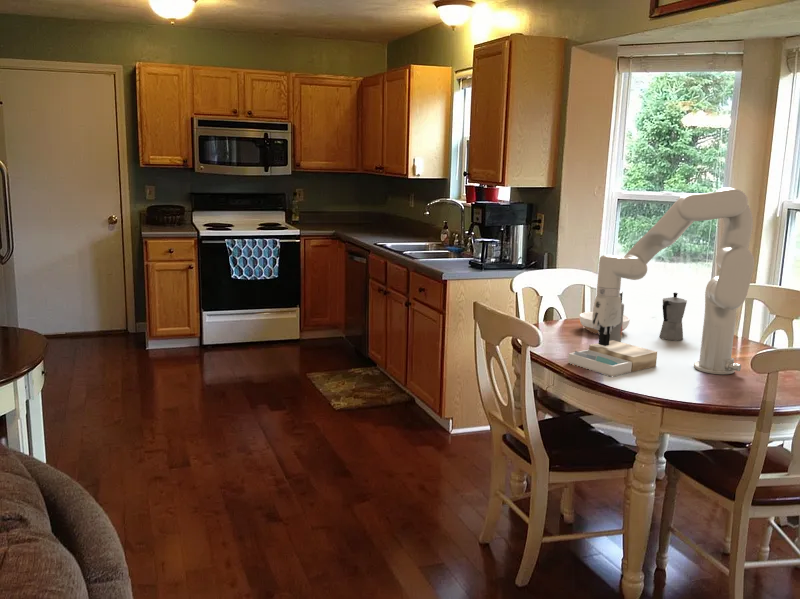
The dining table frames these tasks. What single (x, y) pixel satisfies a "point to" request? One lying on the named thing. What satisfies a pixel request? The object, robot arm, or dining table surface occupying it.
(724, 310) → the robot arm
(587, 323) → the bowl
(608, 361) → the teal tile
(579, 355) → the slate tile
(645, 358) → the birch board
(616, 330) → the lotion bottle
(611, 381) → the dining table surface
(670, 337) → the coffeepot
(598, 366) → the box
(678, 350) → the dining table surface
